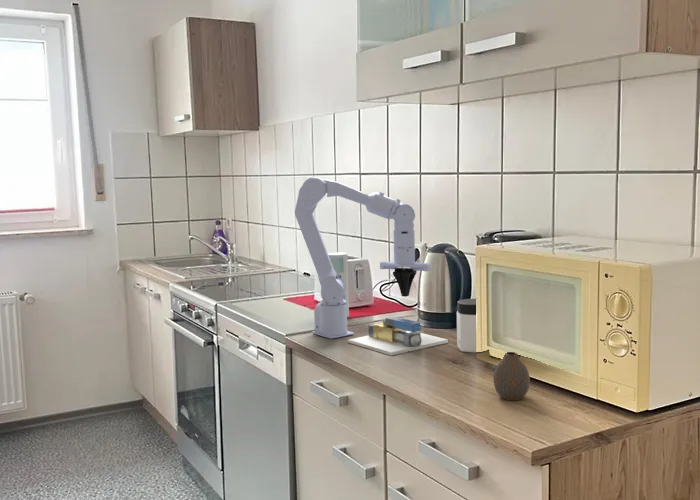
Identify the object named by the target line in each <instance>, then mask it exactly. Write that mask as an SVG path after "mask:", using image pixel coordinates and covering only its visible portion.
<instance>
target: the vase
mask: <svg viewBox="0 0 700 500" xmlns="http://www.w3.org/2000/svg"><path fill="white" fill-rule="evenodd" d="M530 378H531V377H530V372H529V369H528V367H527V366H526V364H525V362H523V360H522V359H521V358H520V356H518V354H517V353H515V352H507V353H505V355H504V357H503V359H502V360H501V359H500V361H499V363H498V364H496V366H495V368H494V373H493V385H494V386H493V388H494V389H495V391H496V393H497V394H498V396H500V398H502V399H503V400H507V401H519V400H521V399H523V398H524V397H525V396H526V395H527V393H528V391H529V388H530V383H531V379H530Z"/></svg>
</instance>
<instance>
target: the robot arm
mask: <svg viewBox="0 0 700 500" xmlns="http://www.w3.org/2000/svg"><path fill="white" fill-rule="evenodd" d="M325 196H326V197H327V198H332V197H341V198H343V199H346V200H349V201H352V202H355V203H357V204H360V205H364V206H365V208H366V211H367V212H368V213H371V214H373V215H376V216H379V217H380V218H383V219H386V220H389V221H390V220H393V222H394V224H393V226H394V228H393V261H379V269H380V270H394V271H393V272H392V275H393V277H394V279H395V281H396V283H397V284H398V288H399V292H400V294H401V297H404V298H405V297H408V296H410V292H411V287H412V284H413V281H414V279H415V277H416V275H417V272H418V271H420V272H422V271H423V272H430V271H431V263H428V262H427V263H426V262H425V263H424V262H418V261H416V253H415V251H416V249H415V243H416V242H415V239H416V238H415V229H414V227H415V224H414V221H415V219H416V213H415V210H414V208H413V207H412V206H411V205H410V204H408V203H406V202H403V201H402V202H401V199H399V198H397V199H394V198H391V197H389V196H386V195H385V192H382V191H379V192H372V193H370V194H368V193H365V192H364V191H360V190H358V189H356V188H353V187H350V186H349V185H346V184H344V183H341V182H339V181H334V180H329V179H323V178H321V177H319V176H317V177H316V176H314V177H313V176H311V177H309V178H307V179H306V180H305V181H304V182H303V183H302V185H301V187H300V188H299V189H298V195H297V200H296V203H295V209H294V215H295V218H296V221H297V224H298V226H299V228H300V232H301V235H302V236H303V239H304V242H305V245H306V247H307V250H308V252H309V255H310V257H311V260H312V263H313V265H314V268H315V270H316V274H317V277H318V281H319V282H318V283H320V297H321V300H320V302H318V303H317V304H316V305H315V307H314V313H313V314H314V317H313V319H314V330H312V334H314V335H318V336H321V337H324V338H326V339H332V340H333V339H337V338H343V337H348V336H352V335H354V334H355V332H352V331H349V330H348V318H347V307H346V300H344V299H343V296H344V290H345V286H344V283H343V281H342V280H341V279H339V278H338V276H337V274H336V272H335V270H334V268H333V266H332V263H331V260H330V258H329V255H328V251H327V247H326V245H325V243H324V240H323V238H322V235H321V231H320V229H319V227H318V224H317V221H316V218H315V215H314V212H315V210H316V208H317V206H318V203H319V202H320V201H322V200H323V198H324V197H325Z"/></svg>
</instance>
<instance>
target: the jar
mask: <svg viewBox="0 0 700 500" xmlns="http://www.w3.org/2000/svg"><path fill="white" fill-rule="evenodd" d="M476 299H477V298H465V299H459V300H458V301H457V311H456V346H457V348H458V349H459V350H460V351H461V352H462V353H463V352H464V353H475V354H477V353H476Z"/></svg>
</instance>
